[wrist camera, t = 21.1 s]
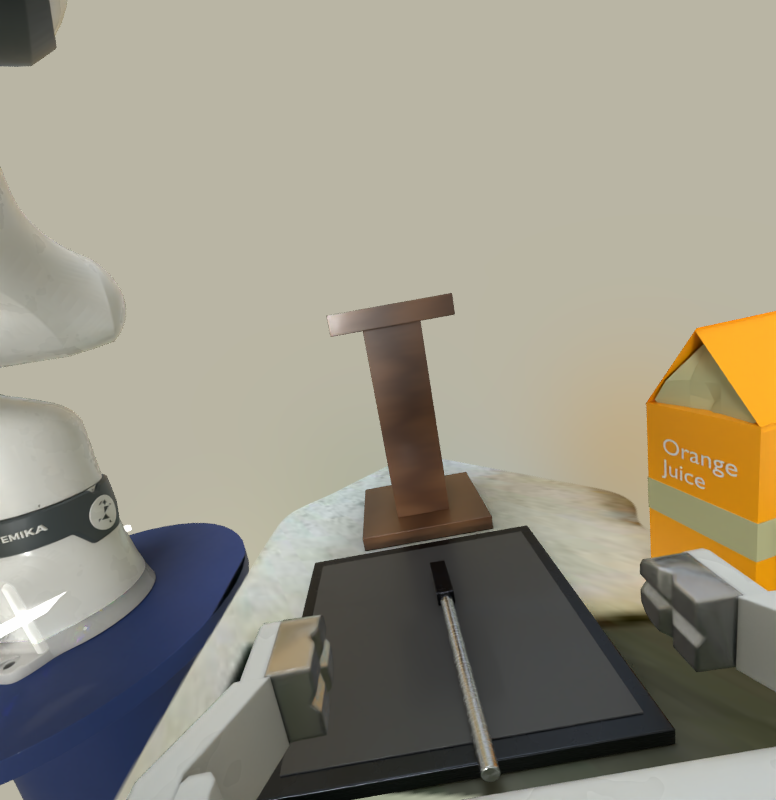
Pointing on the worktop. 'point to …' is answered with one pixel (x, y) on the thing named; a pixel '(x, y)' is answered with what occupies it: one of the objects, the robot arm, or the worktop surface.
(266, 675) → the robot arm
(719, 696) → the worktop surface
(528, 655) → the tablet
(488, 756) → the stylus
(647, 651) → the worktop surface
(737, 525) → the orange juice
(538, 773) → the worktop surface
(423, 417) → the brown wooden pedestal
